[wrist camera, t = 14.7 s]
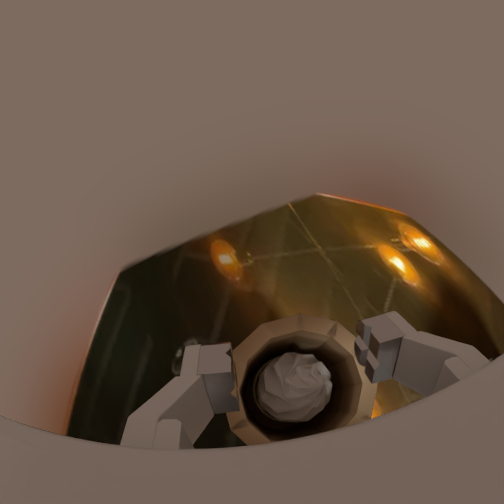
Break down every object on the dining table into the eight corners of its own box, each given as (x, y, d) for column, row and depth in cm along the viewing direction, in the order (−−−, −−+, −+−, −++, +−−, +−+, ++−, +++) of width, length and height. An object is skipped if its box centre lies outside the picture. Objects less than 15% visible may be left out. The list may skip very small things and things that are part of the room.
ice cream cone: (305, 393, 25) (385, 391, 11) (263, 422, 23) (308, 457, 10) (277, 354, 26) (331, 316, 13) (234, 382, 25) (246, 375, 12)
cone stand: (280, 465, 21) (302, 508, 10) (203, 394, 25) (166, 386, 14) (353, 389, 25) (418, 373, 14) (278, 324, 29) (296, 267, 18)
